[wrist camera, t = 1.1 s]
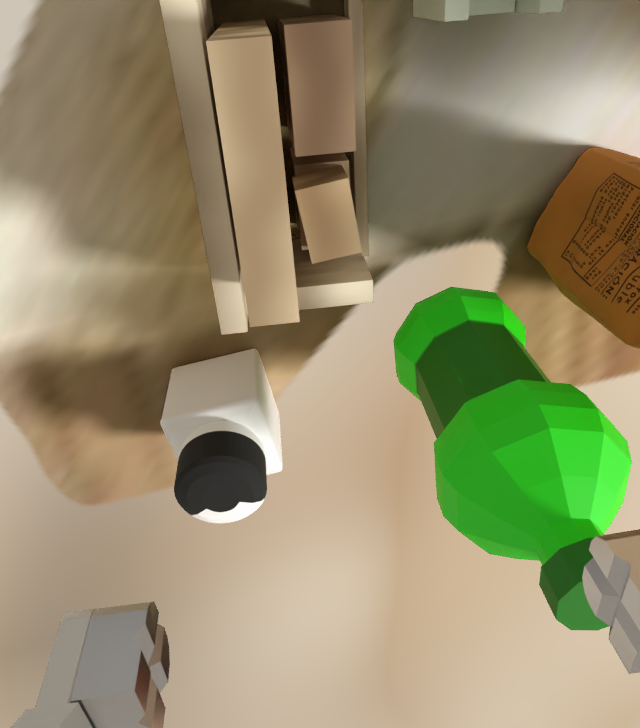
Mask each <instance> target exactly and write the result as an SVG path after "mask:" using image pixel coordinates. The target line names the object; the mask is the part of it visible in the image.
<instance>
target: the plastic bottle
mask: <svg viewBox="0 0 640 728" xmlns="http://www.w3.org/2000/svg"><path fill="white" fill-rule="evenodd" d="M394 349H395V360H396V372H397V376H398V379H399V382H400V383H401V384H402V385H403V386H404V387H405V388H407V389H408V390H409V391H410V392H411V393H412V394H413V395H414V396H416V397H417V398H418V399H419V400H420V401H422V404H423V406H424V409H425V411H426V414H427V416H428V418H429V421H430V423H431V426H432V428H433V430H434V433H435V435H436V438H437V440H436V441H435V442H434V451H435V471H436V487H437V499H438V502H439V505H440V508H441V510H442V513H443V516H444V517H445V518H446V519H447V520H448V521H449V522H450V523H451V524H452V525H453V526H454V527H455V528H456V529H457V530H458V531H459V532H461V533H462V534H463V535H465V536H466V537H467V538H469V539H470V540H472V541H473V542H474V543H475V544H477V545H478V546H479V547H481V548H482V549H484V550H485V551H486V552H488V553H489V554H494V555H500V556H505V557H510V558H516V559H528V560H539V561H541V563H542V567H541V573H540V583H539V585H540V587H541V589H542V591H543V593H544V595H545V597H546V600H547V602H548V604H549V606H550V608H551V610H552V612H553V614H554V616H555V618H556V619H557V620H558V621H559V622H561V623H562V624H564V625H565V626H566V627H568V628H569V629H571V630H600V629H602V628H605V627H608V626H609V625H608V624H606V623H605V622H603V621H602V620H600V619H599V618H597V617H596V616H595V614H594V612H593V610H592V609H591V607H590V605H589V603H588V600H587V598H586V595H585V592H584V586H583V580H582V576H583V571H584V566H585V565H586V564H587V563H588V562H589V561H590V560H591V559H592V558H593V556H592V554H591V552H590V551H589V548H590V544H591V541H592V540H593V539H594V538H595V537H596V536H602V535H604V532H605V531H606V530H607V528H608V527H609V526H610V524H611V523H612V521H613V520H614V518H615V516H616V514H617V512H618V510H619V509H620V507H621V505H622V503H623V501H624V496H625V491H626V486H627V481H628V477H629V472H630V467H631V457H630V452H629V448H628V443H627V441H626V440H625V439H624V437H623V436H622V435H621V434H620V432H619V431H618V430H617V429H616V428H615V427H614V425H613V424H612V423H611V422H610V421H609V420H608V419H607V418H606V417H605V415H604V414H603V413H602V412H601V411H600V410H599V409H598V408H597V407H596V406H595V404H594V403H593V402H592V401H591V400H590V399H589V398H588V397H587V396H586V395H585V394H584V393H583V392H581V391H580V390H578V389H577V388H575V387H574V386H572V385H571V384H563V383H552V382H550V381H549V379H548V378H547V377H546V375H545V374H544V373H543V371H542V370H541V369H540V368H539V366H538V365H537V364H536V362H535V361H534V360H533V358H532V357H531V356H530V354H529V353H528V352H527V350H526V349H525V326H524V325H523V323H522V322H521V321H520V320H519V318H518V317H517V316H516V315H515V314H514V313H513V312H512V311H511V310H510V309H509V307H508V306H507V305H506V304H505V303H504V302H503V301H502V300H501V299H500V297H499V296H498V295H497V294H496V293H493V292H488V291H480V290H472V289H462V288H455V287H450V288H448V289H446V290H444V291H441V292H439V293H437V294H435V295H433V296H431V297H429V298H427V299H425V300H423V301H420V302H418V303H416V304H415V306H414V307H413V309H412V311H411V312H410V313H409V315H408V316H407V318H406V319H405V321H404V323H403V324H402V326H401V327H400V329H399V330H398V332H397V333H396V336H395V339H394Z"/></svg>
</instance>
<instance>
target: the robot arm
mask: <svg viewBox="0 0 640 728" xmlns="http://www.w3.org/2000/svg"><path fill="white" fill-rule="evenodd" d="M589 551H590V552H591V554H592V556H593V558H592V559H591V560H590V561H589V562H588V563H587V564H586V565H585V566H584V571H583V576H582V580H583V586H584V592H585V595H586V598H587V600H588V603H589V605H590V607H591V609H592V610H593V612H594V614H595V616H596V617H597V618H599V619H600V620H602V621H603V622H605V623H606V624H608V625H609V626H610V633H609V640H610V642H611V643H612V645H613V647H614V649H615V650H616V652H617V654H618V656H619V657H620V659H621V661H622V663H623V664H624V666H625V668H626V669H627V671H628V673H629V674H630V673H638V672H640V529H639V530H634V531H627V532H621V533H615V534H609V535H602V536H596V537H595V538H594V539H593V540H592V541H591V544H590V548H589ZM158 614H159V612H158V609H157V607H156V605H155V602H154V601H153V602H145V603H137V604H129V605H121V606H114V607H106V608H98V609H97V608H96V609H89V610H82V611H75V612H67V613H66V614H65V616H64V617H63V619H62V620H61V622H60V625H59V628H58V631H57V635H56V638H55V642H54V645H53V648H52V652H51V655H50V659H49V662H48V666H47V669H46V672H45V676H44V679H43V682H42V686H41V690H40V693H39V696H38V699H37V703H36V706H35V708H33V709H28V710H25V712H24V713H23V714H22V715H21V717H19V718H18V720H17V721H16V722H15V723H14V724H13V725H12V727H11V728H163V724H164V714H165V706H164V703H163V701H162V698H161V695H160V692H161V691H162V689H163V688H164V687H165V685H166V684H167V683H168V678H169V666H170V660H169V659H170V658H169V643H168V637H167V634H166V631H165V628H164V627H162V626H161V625H159V624H157V623H158Z"/></svg>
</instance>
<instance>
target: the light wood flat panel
mask: <svg viewBox="0 0 640 728" xmlns="http://www.w3.org/2000/svg"><path fill="white" fill-rule="evenodd" d="M206 45H207V51H208V58H209V64H210V71H211V77H212V84H213V90H214V97H215V103H216V110H217V116H218V123H219V129H220V136H221V142H222V149H223V155H224V162H225V168H226V175H227V181H228V188H229V194H230V201H231V207H232V214H233V220H234V227H235V233H236V240H237V246H238V253H239V259H240V266H241V272H242V279H243V285H244V292H245V298H246V305H247V311H248V318H249V324H250V327H257V326H266V325H276V324H285V323H294V322H300V318H299V308H298V298H297V288H296V278H295V268H294V258H293V248H292V238H291V228H290V217H289V207H288V197H287V187H286V177H285V167H284V157H283V147H282V137H281V127H280V117H279V107H278V97H277V87H276V76H275V66H274V56H273V46H272V36H271V34H270V31H269V29H268V27H267V24H266V22H265V20H264V19H262V20H250V21H238V22H226V23H222V25H221V26H220V27H219V28H218V29H217V30H216V31H215V32H214V33H213V34H212V35H211V37H210V38H209V39H208V40H207V41H206Z"/></svg>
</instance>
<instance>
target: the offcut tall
mask: <svg viewBox="0 0 640 728" xmlns="http://www.w3.org/2000/svg"><path fill="white" fill-rule="evenodd" d="M278 25H279V36H280V46H281V57H282V68H283V79H284V89H285V100H286V111H287V122H288V129H289V133H290V137H291V141H292V144H293V148H294V152H295V156H296V157H300V156H310V155H321V154H331V153H342V152H352V151H356V136H355V105H354V75H353V45H352V19H349V18H345V17H342V16H339V15H335V14H322V15H310V16H298V17H286V18H278Z"/></svg>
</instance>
